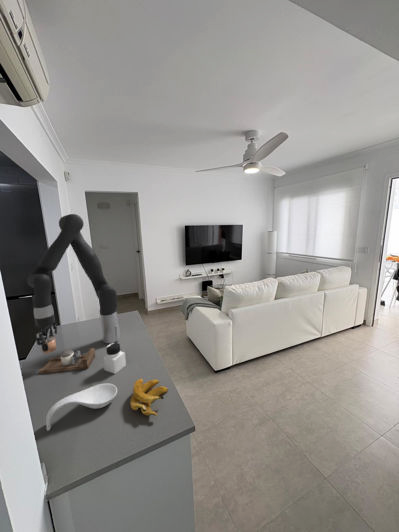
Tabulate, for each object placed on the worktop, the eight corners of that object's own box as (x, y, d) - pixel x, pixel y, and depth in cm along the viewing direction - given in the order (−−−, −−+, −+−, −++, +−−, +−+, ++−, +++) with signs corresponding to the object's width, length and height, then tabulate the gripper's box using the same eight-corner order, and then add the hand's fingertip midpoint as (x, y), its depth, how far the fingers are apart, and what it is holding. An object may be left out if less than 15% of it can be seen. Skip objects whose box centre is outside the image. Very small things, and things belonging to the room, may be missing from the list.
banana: (139, 430, 72) (138, 415, 71) (124, 394, 87) (122, 382, 86) (180, 407, 80) (179, 394, 79) (159, 379, 96) (158, 367, 95)
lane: (95, 356, 114) (94, 348, 113) (88, 368, 104) (86, 359, 103) (50, 360, 111) (49, 352, 110) (38, 373, 101) (37, 364, 101)
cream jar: (76, 359, 111) (75, 349, 110) (72, 366, 105) (70, 355, 104) (65, 360, 110) (63, 350, 109) (59, 367, 104) (57, 356, 103)
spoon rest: (112, 386, 92) (111, 371, 91) (122, 403, 83) (120, 386, 82) (45, 416, 78) (42, 399, 77) (47, 441, 69) (44, 422, 68)
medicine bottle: (126, 365, 106) (124, 342, 104) (115, 374, 99) (112, 350, 97) (115, 362, 109) (113, 340, 107) (104, 370, 102) (101, 347, 100)
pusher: (81, 358, 111) (79, 349, 110) (75, 366, 105) (73, 356, 104) (78, 358, 111) (77, 349, 110) (72, 366, 105) (71, 357, 104)
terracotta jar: (58, 346, 108) (57, 335, 107) (52, 352, 103) (50, 341, 102) (46, 347, 108) (45, 336, 107) (39, 353, 102) (38, 342, 101)
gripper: (43, 320, 96) (49, 355, 98) (60, 308, 110) (64, 339, 112) (25, 321, 95) (31, 356, 98) (44, 309, 109) (49, 340, 112)
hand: (49, 347), depth 105 cm, fingers closed on terracotta jar, 5 cm apart
